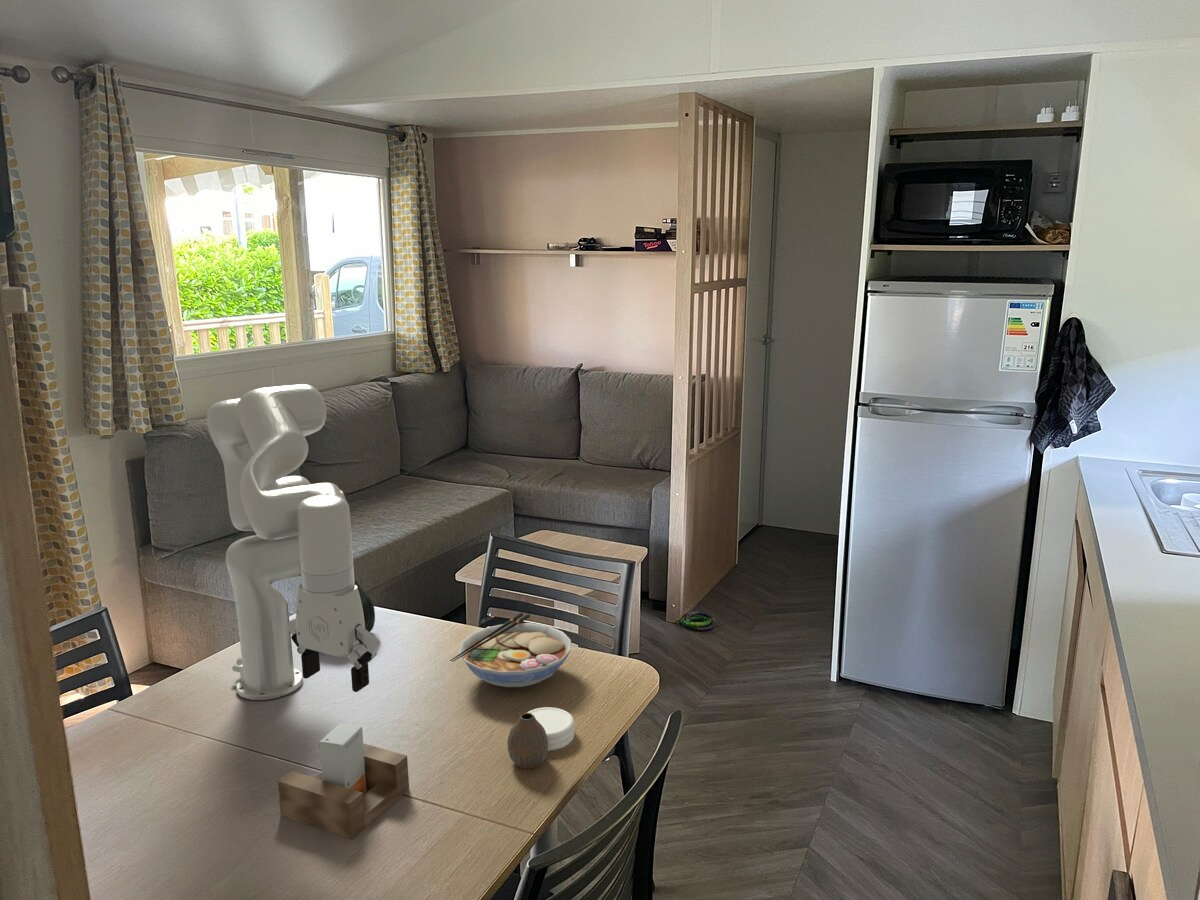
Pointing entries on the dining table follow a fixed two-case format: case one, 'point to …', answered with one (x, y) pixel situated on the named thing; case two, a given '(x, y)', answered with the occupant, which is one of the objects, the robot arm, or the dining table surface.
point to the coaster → (555, 726)
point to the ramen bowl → (515, 652)
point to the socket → (345, 794)
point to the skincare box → (344, 757)
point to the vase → (527, 742)
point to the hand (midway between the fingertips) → (336, 681)
